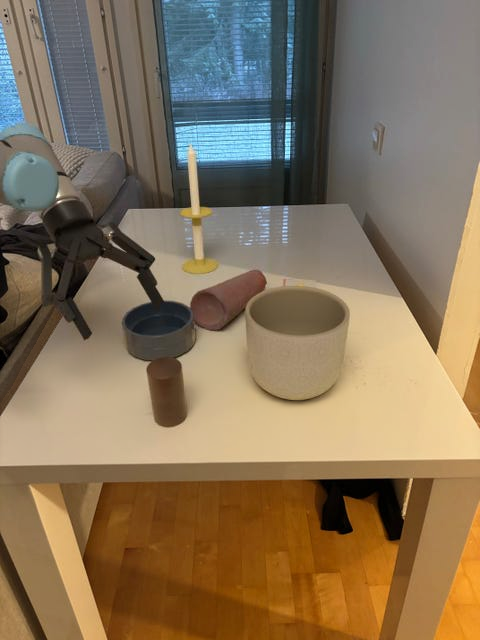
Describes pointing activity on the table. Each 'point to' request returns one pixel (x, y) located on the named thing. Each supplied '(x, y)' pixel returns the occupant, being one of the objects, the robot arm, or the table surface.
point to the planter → (296, 340)
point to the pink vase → (226, 299)
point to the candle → (196, 222)
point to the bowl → (159, 330)
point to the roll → (167, 391)
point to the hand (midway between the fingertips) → (125, 320)
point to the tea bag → (299, 282)
